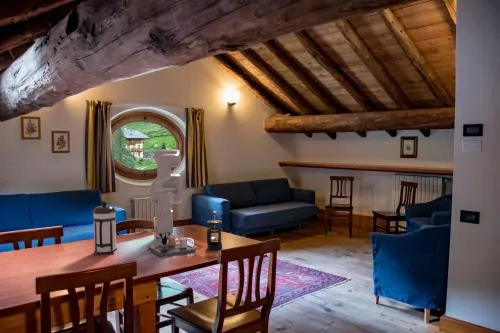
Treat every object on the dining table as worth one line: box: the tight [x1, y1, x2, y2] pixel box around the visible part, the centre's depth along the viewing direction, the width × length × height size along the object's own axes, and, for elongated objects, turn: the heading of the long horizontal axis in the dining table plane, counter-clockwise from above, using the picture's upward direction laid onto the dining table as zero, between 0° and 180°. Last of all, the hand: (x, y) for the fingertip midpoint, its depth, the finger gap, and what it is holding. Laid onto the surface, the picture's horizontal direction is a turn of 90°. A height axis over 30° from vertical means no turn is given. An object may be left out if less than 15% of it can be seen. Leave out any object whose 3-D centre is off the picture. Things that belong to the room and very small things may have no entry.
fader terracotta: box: [167, 236, 177, 246], centre depth 258 cm, size 4×3×5 cm
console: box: [147, 243, 197, 259], centre depth 254 cm, size 20×22×3 cm
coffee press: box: [92, 201, 118, 256], centre depth 249 cm, size 17×16×30 cm
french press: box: [206, 210, 223, 252], centre depth 259 cm, size 12×9×23 cm
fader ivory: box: [179, 237, 188, 248], centre depth 254 cm, size 4×3×5 cm
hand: (164, 244), depth 256 cm, fingers closed
